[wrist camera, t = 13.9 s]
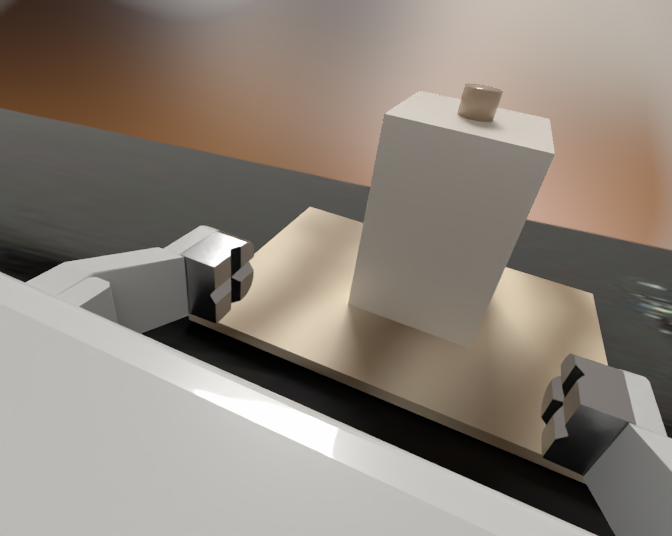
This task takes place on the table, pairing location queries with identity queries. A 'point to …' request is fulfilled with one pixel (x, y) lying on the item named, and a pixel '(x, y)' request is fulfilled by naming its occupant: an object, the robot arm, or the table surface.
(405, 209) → the tall white canister
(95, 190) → the table surface
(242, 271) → the robot arm
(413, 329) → the mat
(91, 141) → the table surface
